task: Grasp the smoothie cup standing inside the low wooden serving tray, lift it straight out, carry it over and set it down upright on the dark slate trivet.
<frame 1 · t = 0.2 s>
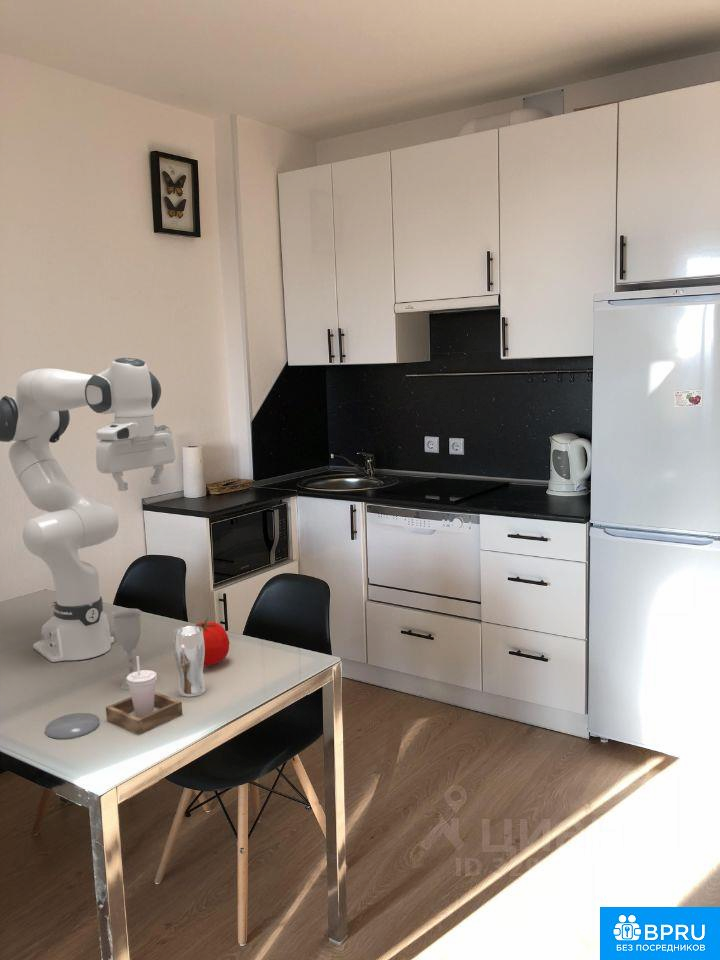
hand: (139, 487, 194), 48 cm above the table, fingers open, 8 cm apart
beer glass: (192, 692, 193), on the table
slate trivet: (72, 726, 177), on the table
chalice: (132, 685, 198), on the table
tomato: (206, 665, 209), on the table
smoothie: (144, 718, 180), resting in wooden serving tray
wooden serving tray: (144, 717, 180), on the table
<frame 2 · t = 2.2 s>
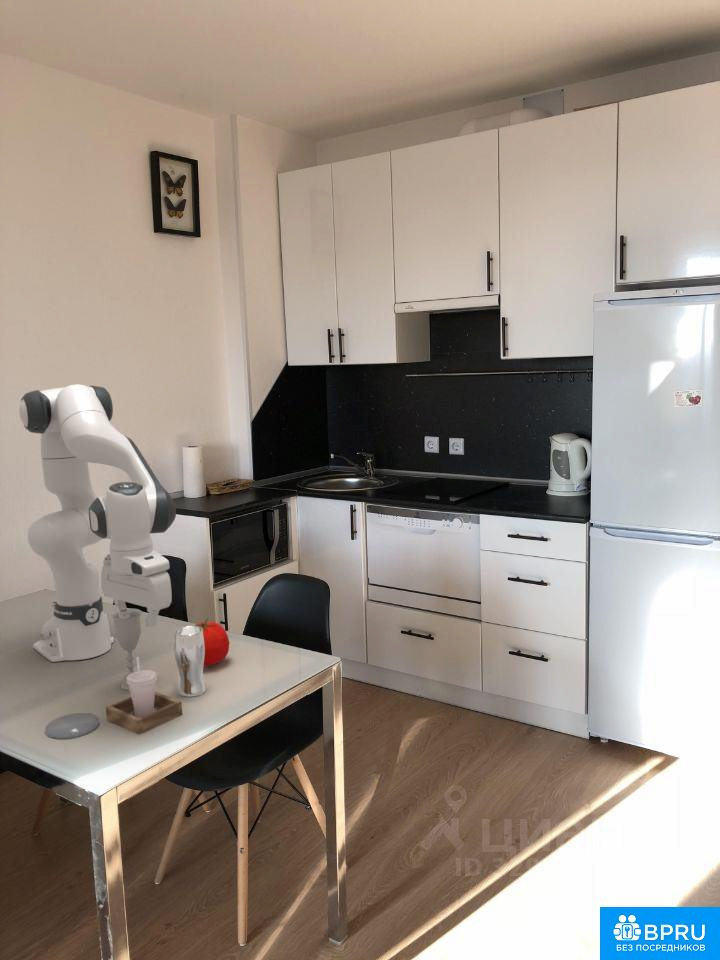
hand: (137, 622, 177), 22 cm above the table, fingers open, 8 cm apart
nothing on the table moved.
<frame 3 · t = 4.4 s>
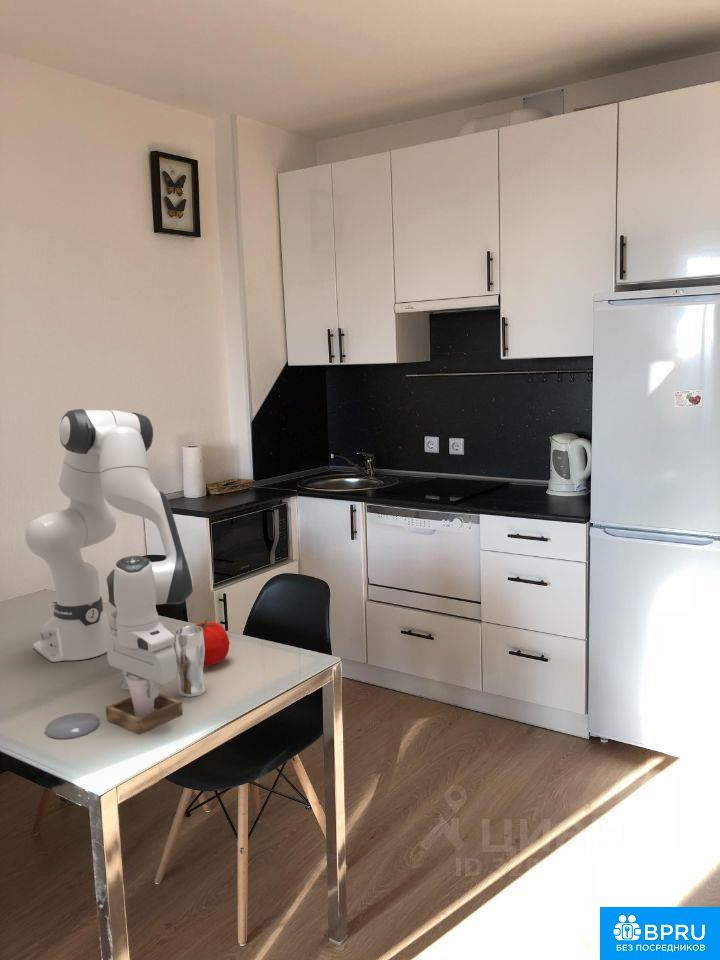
hand: (143, 693, 179), 6 cm above the table, fingers closed on smoothie, 6 cm apart
smoothie: (144, 718, 180), resting in wooden serving tray, touching gripper
everything else where it was.
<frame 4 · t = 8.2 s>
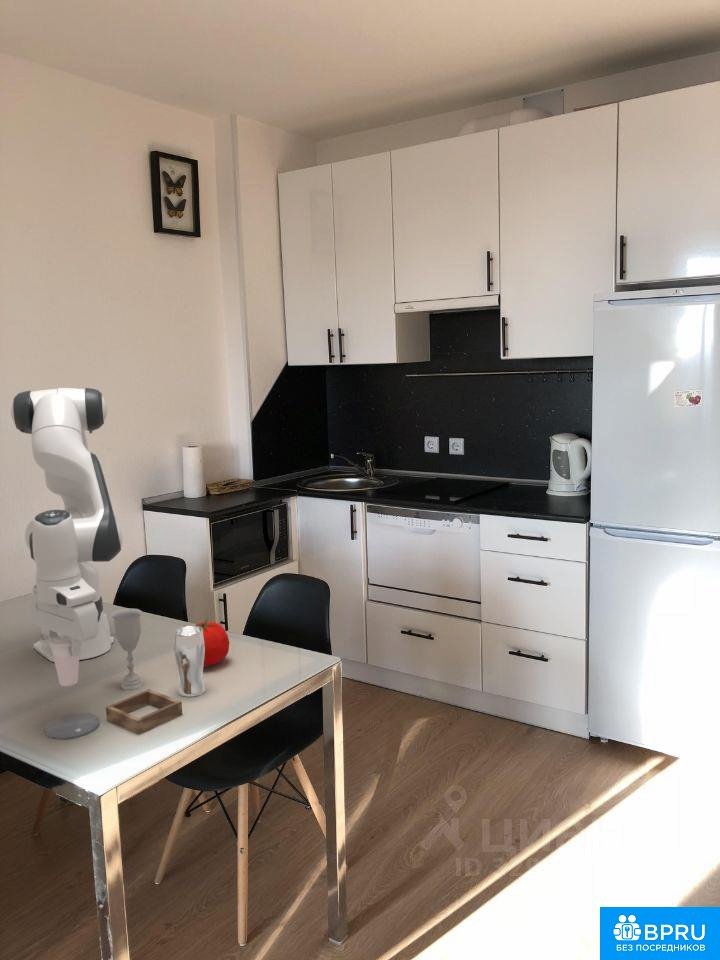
hand: (66, 651, 174), 17 cm above the table, fingers closed on smoothie, 6 cm apart
smoothie: (69, 683, 175), point 10 cm above the table, touching gripper
everything else where it was.
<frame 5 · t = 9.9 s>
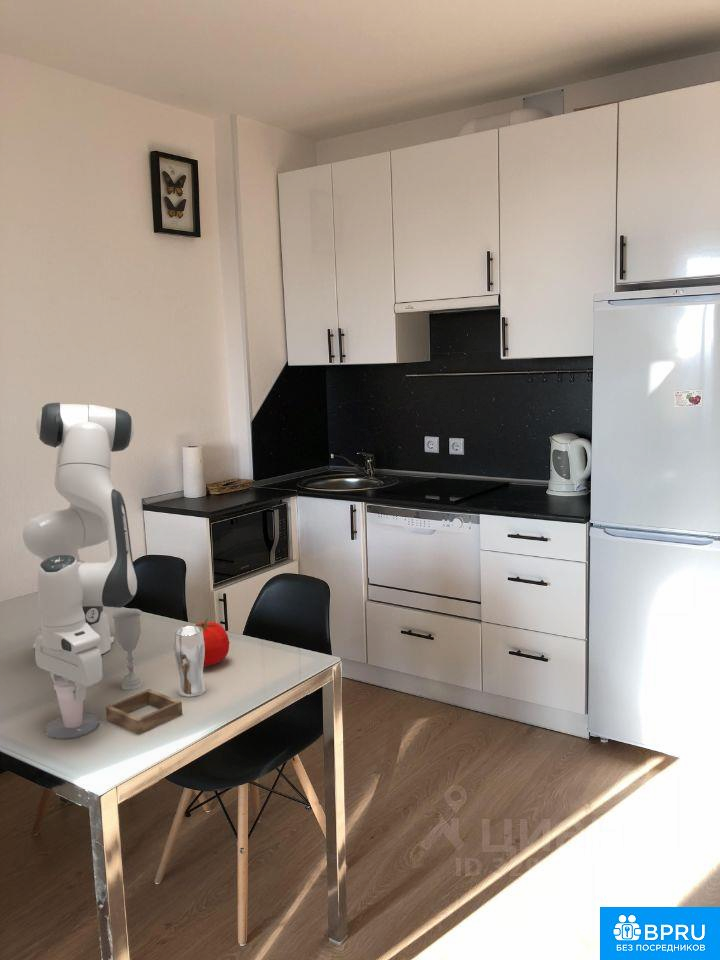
hand: (70, 695, 176), 7 cm above the table, fingers closed on smoothie, 6 cm apart
smoothie: (73, 724, 177), resting on slate trivet, touching gripper
everything else where it was.
when the fingers open (7 cm above the table, at t = 10.7 s): smoothie stays where it is, resting on slate trivet.
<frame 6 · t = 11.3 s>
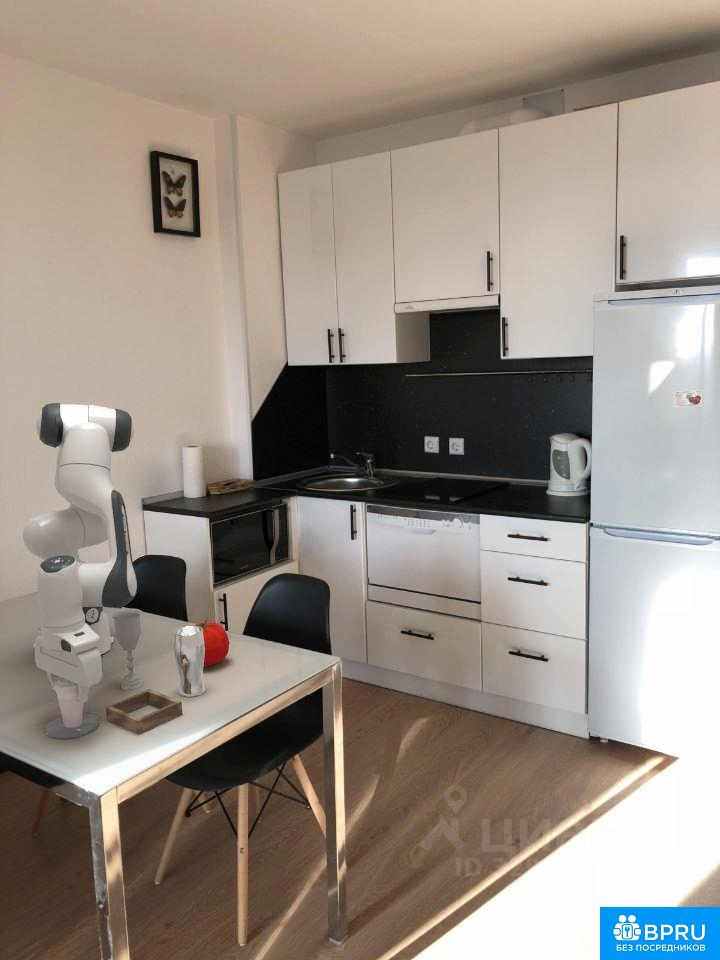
hand: (69, 695, 176), 7 cm above the table, fingers open, 8 cm apart
smoothie: (73, 724, 177), resting on slate trivet
everything else where it was.
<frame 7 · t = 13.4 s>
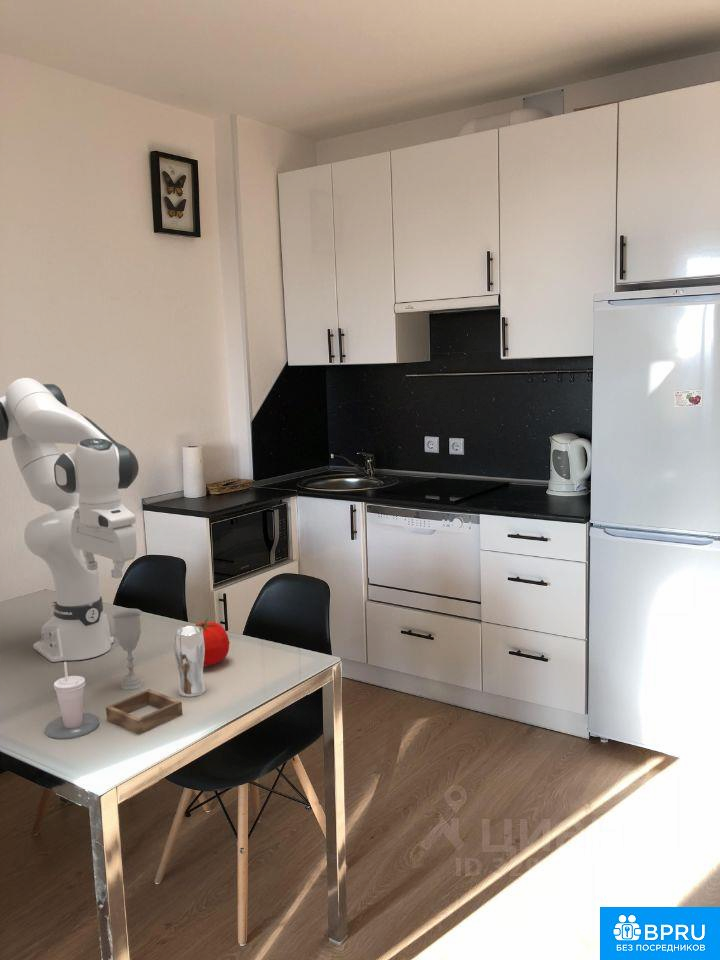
hand: (104, 573, 184), 30 cm above the table, fingers open, 8 cm apart
nothing on the table moved.
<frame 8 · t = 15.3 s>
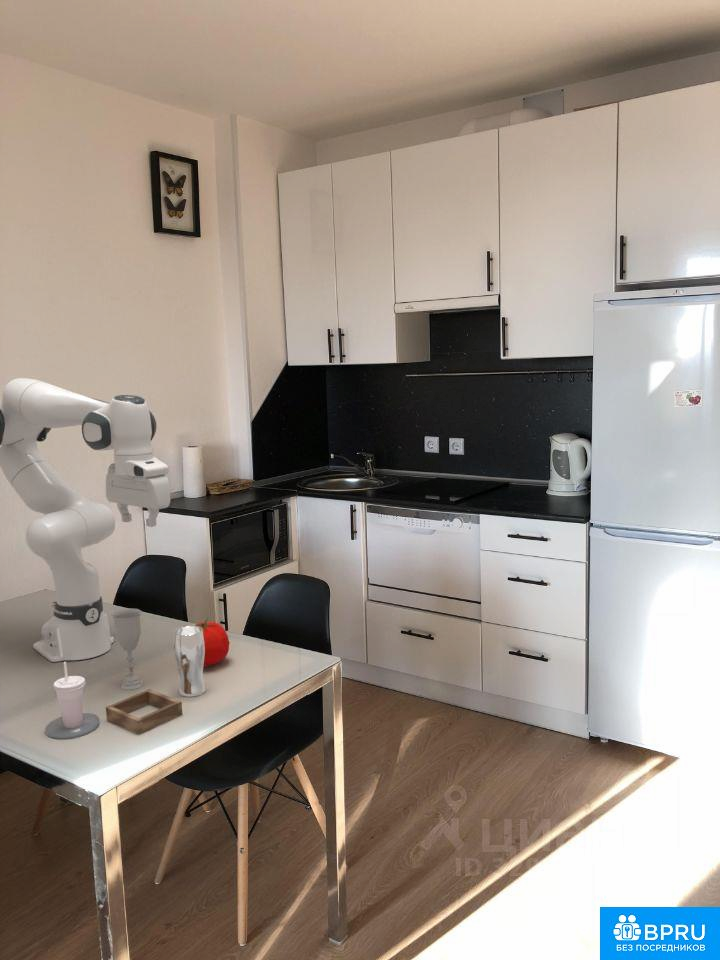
hand: (139, 523, 193), 39 cm above the table, fingers open, 8 cm apart
nothing on the table moved.
at the end: smoothie inside the target area on the slate trivet (0.2 cm from its centre), point 0.4 cm above the slate trivet's base; smoothie tilted 0°; the gripper is holding nothing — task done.
